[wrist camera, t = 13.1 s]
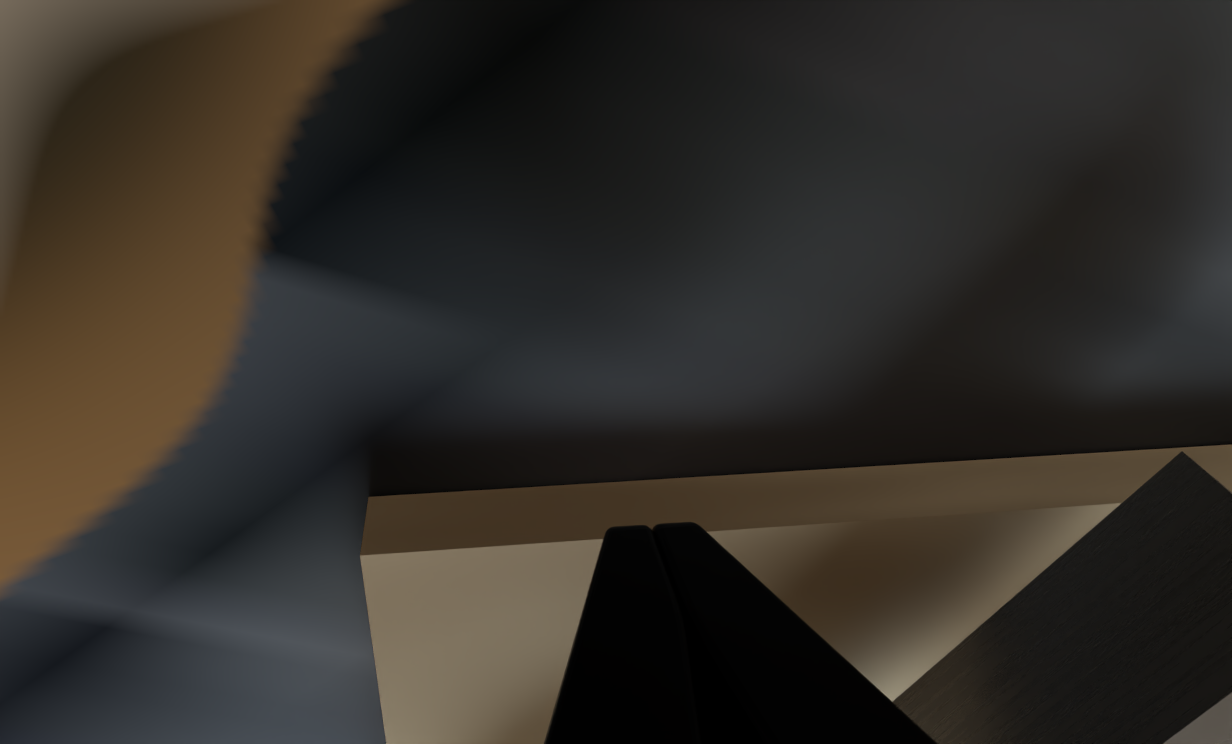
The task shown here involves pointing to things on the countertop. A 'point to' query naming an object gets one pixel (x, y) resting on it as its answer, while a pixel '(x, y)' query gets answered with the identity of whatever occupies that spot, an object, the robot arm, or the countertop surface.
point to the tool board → (750, 531)
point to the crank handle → (1105, 634)
